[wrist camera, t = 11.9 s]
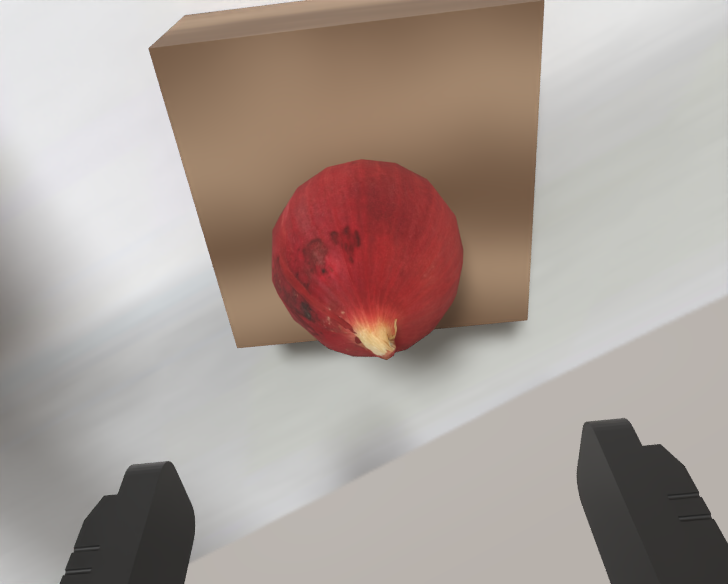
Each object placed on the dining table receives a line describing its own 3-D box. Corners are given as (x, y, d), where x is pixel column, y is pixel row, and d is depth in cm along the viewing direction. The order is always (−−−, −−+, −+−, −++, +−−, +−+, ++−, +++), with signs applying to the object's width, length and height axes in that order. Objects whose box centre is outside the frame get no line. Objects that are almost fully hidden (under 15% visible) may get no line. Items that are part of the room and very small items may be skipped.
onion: (281, 265, 23) (253, 422, 17) (283, 116, 20) (250, 239, 14) (432, 275, 24) (463, 433, 17) (459, 131, 20) (510, 257, 14)
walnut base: (184, 15, 23) (148, 48, 19) (508, -25, 22) (544, 0, 18) (253, 281, 30) (237, 348, 26) (502, 255, 29) (527, 320, 25)
